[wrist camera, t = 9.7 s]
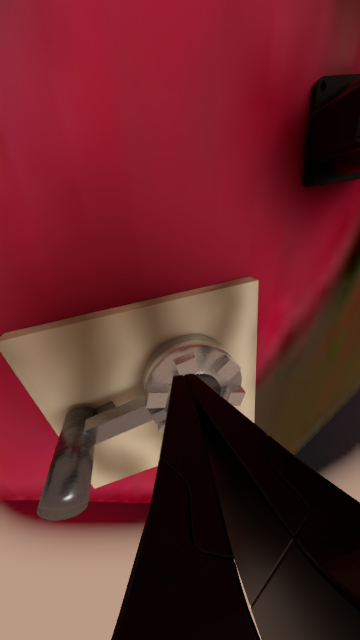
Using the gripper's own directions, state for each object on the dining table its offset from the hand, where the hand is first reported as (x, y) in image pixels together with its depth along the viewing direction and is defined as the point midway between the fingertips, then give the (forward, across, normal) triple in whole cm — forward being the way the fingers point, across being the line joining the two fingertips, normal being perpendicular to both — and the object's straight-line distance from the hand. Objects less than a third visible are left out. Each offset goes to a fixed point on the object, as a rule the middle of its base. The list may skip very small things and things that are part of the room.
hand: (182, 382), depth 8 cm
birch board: (+11, -1, +12) cm, 16 cm away
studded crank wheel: (+9, +1, +9) cm, 13 cm away
